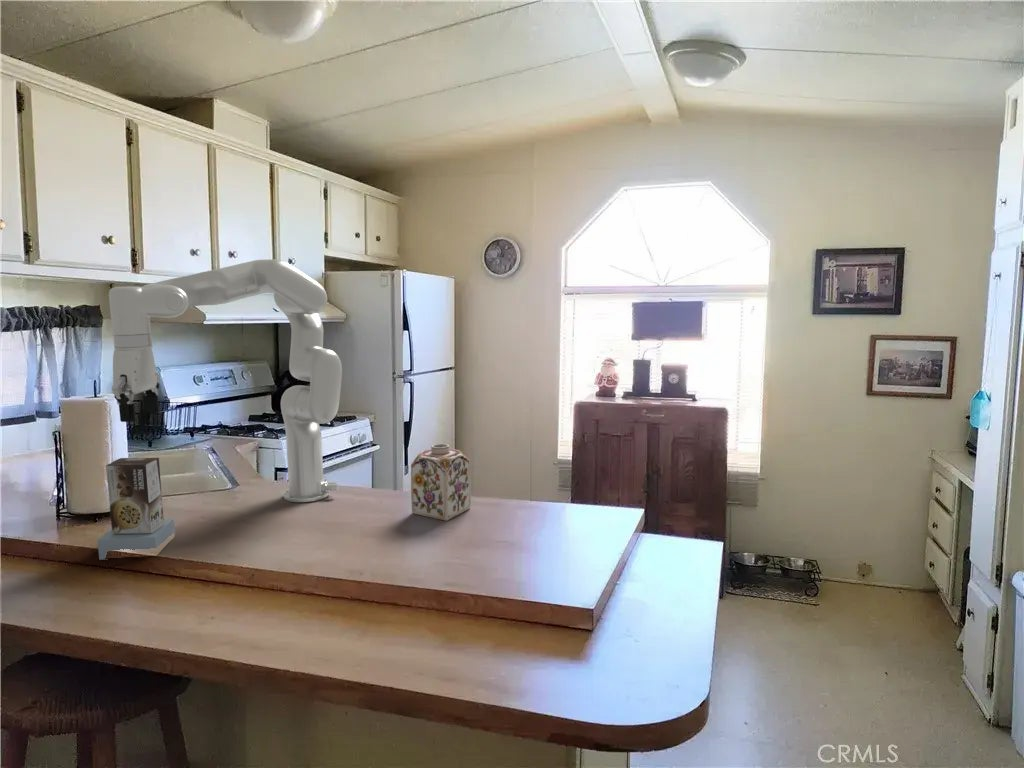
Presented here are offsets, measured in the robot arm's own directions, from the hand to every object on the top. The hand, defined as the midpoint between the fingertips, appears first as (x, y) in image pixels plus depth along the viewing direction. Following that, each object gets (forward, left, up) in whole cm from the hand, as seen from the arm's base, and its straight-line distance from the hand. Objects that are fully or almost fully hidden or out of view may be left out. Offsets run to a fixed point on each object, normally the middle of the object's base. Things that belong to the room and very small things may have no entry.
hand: (140, 416), depth 157 cm
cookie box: (+1, +4, -26) cm, 26 cm away
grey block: (+1, +3, -31) cm, 31 cm away
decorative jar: (-65, -23, -30) cm, 76 cm away
